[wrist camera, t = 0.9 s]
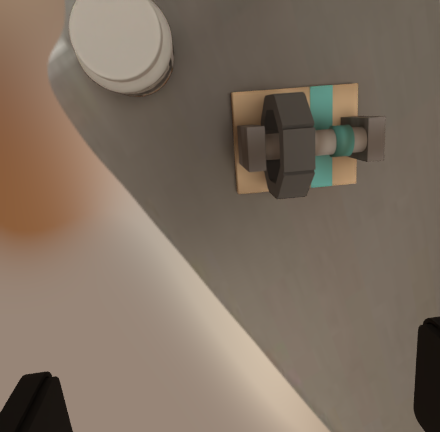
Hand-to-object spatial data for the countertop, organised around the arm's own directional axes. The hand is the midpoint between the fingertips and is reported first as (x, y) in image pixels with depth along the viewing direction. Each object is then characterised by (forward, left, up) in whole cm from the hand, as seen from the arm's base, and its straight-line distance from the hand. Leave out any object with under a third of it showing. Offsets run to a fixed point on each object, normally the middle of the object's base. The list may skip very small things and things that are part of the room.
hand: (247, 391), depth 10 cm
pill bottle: (-11, -4, -24) cm, 26 cm away
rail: (-4, +8, -23) cm, 25 cm away
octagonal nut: (-4, +6, -22) cm, 23 cm away
